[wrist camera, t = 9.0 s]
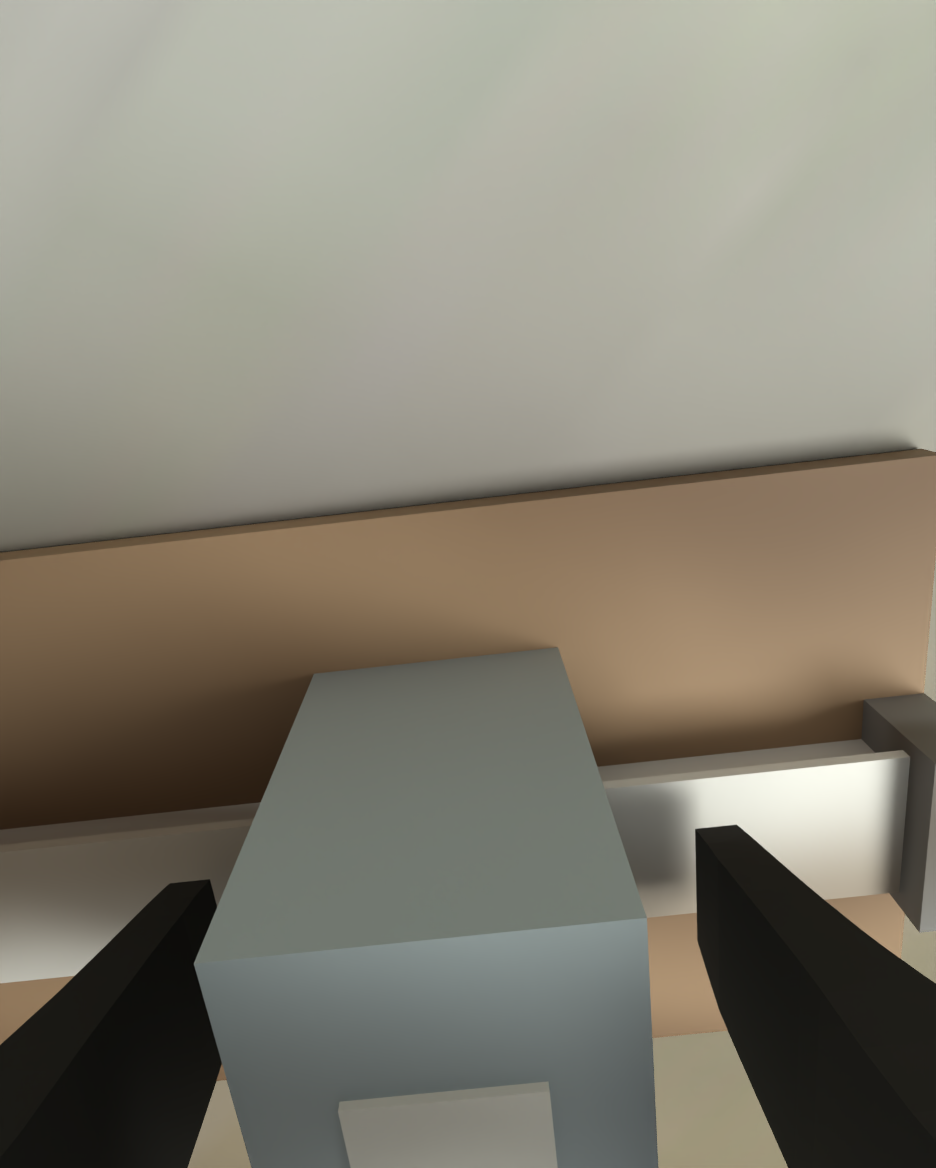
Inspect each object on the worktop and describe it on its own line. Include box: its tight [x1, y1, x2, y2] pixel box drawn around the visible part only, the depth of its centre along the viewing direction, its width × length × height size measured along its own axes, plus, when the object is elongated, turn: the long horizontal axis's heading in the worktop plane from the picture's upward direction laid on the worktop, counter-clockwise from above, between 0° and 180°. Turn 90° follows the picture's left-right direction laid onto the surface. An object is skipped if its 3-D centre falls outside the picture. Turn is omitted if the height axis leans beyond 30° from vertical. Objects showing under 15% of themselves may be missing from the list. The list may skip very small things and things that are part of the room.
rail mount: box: [0, 449, 936, 1081], centre depth 13 cm, size 11×18×3 cm, turn 96°
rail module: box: [194, 647, 658, 1168], centre depth 10 cm, size 6×4×6 cm, turn 6°
